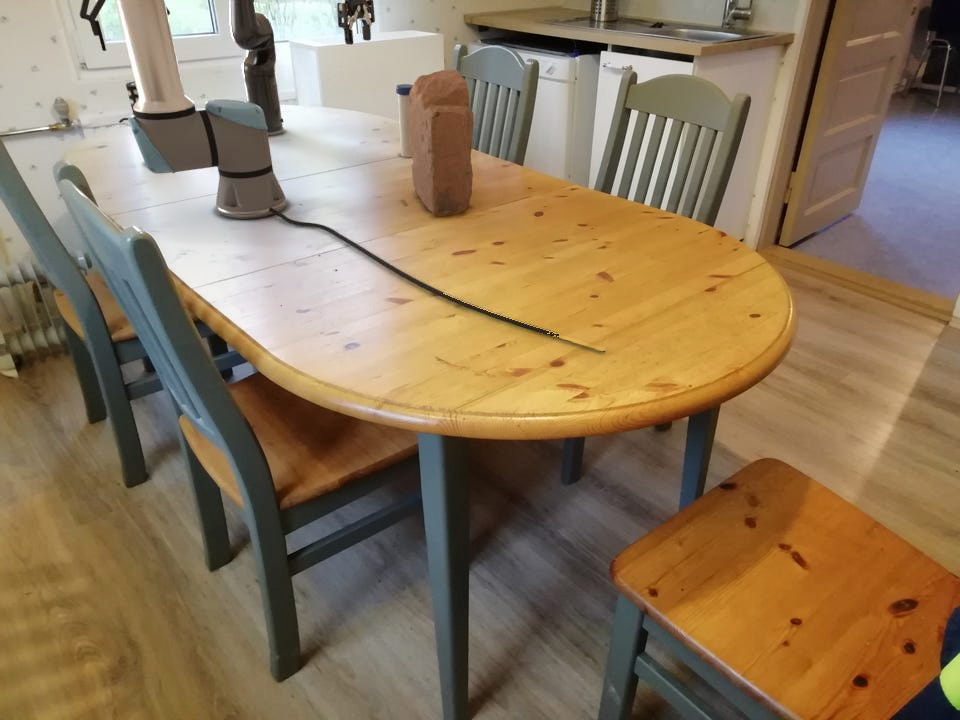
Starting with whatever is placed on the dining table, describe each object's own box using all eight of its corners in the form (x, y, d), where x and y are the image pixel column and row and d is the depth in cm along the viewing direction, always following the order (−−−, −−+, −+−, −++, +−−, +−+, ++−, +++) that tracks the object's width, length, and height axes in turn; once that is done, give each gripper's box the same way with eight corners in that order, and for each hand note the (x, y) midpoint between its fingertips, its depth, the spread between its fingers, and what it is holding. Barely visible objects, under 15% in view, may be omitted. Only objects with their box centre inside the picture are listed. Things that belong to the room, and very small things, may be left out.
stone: (482, 213, 155) (482, 80, 141) (434, 219, 152) (429, 83, 138) (455, 187, 173) (452, 67, 159) (411, 191, 170) (404, 69, 156)
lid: (395, 91, 187) (395, 84, 186) (413, 91, 188) (413, 83, 187) (397, 95, 183) (396, 88, 182) (415, 94, 184) (415, 87, 183)
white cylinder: (400, 153, 196) (397, 86, 186) (414, 152, 197) (412, 85, 187) (401, 157, 193) (398, 89, 183) (416, 156, 193) (413, 89, 183)
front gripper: (164, -51, 170) (183, 43, 182) (50, -50, 160) (78, 49, 171) (168, -50, 165) (188, 47, 176) (50, -49, 154) (79, 53, 166)
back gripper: (357, -26, 193) (361, 38, 202) (326, -23, 182) (332, 44, 191) (380, -24, 190) (383, 40, 199) (349, -21, 179) (354, 46, 188)
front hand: (133, 48), depth 174 cm, fingers open, 13 cm apart
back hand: (358, 42), depth 195 cm, fingers open, 8 cm apart
